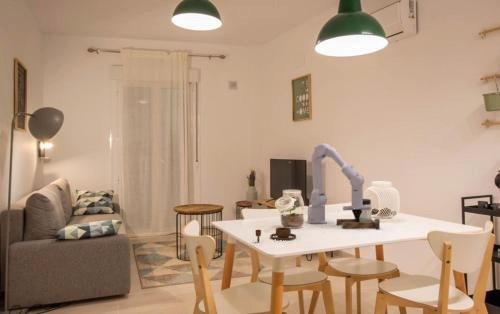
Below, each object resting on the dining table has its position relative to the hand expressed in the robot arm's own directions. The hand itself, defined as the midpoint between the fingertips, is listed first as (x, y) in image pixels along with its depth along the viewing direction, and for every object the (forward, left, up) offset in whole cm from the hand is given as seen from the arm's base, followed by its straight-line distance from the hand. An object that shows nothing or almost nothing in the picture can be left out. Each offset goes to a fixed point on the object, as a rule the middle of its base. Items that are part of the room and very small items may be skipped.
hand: (356, 223), depth 219 cm
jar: (+10, +18, -2) cm, 21 cm away
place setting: (-47, -25, -2) cm, 53 cm away
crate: (+4, -1, -1) cm, 4 cm away
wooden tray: (0, -1, -1) cm, 2 cm away
